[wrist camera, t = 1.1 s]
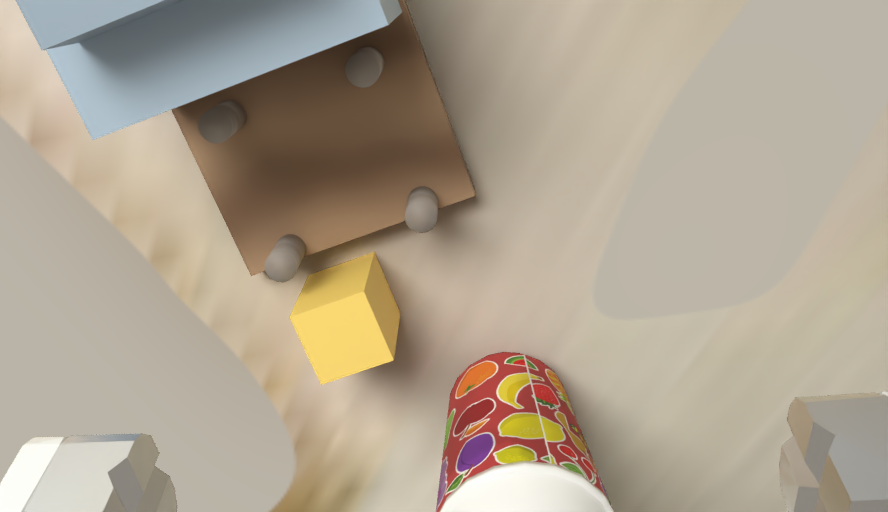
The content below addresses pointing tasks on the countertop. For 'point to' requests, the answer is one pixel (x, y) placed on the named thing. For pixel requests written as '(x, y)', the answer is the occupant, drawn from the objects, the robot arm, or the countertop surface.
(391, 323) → the yellow block
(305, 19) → the cover
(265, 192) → the peg board
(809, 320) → the countertop surface
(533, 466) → the smoothie
